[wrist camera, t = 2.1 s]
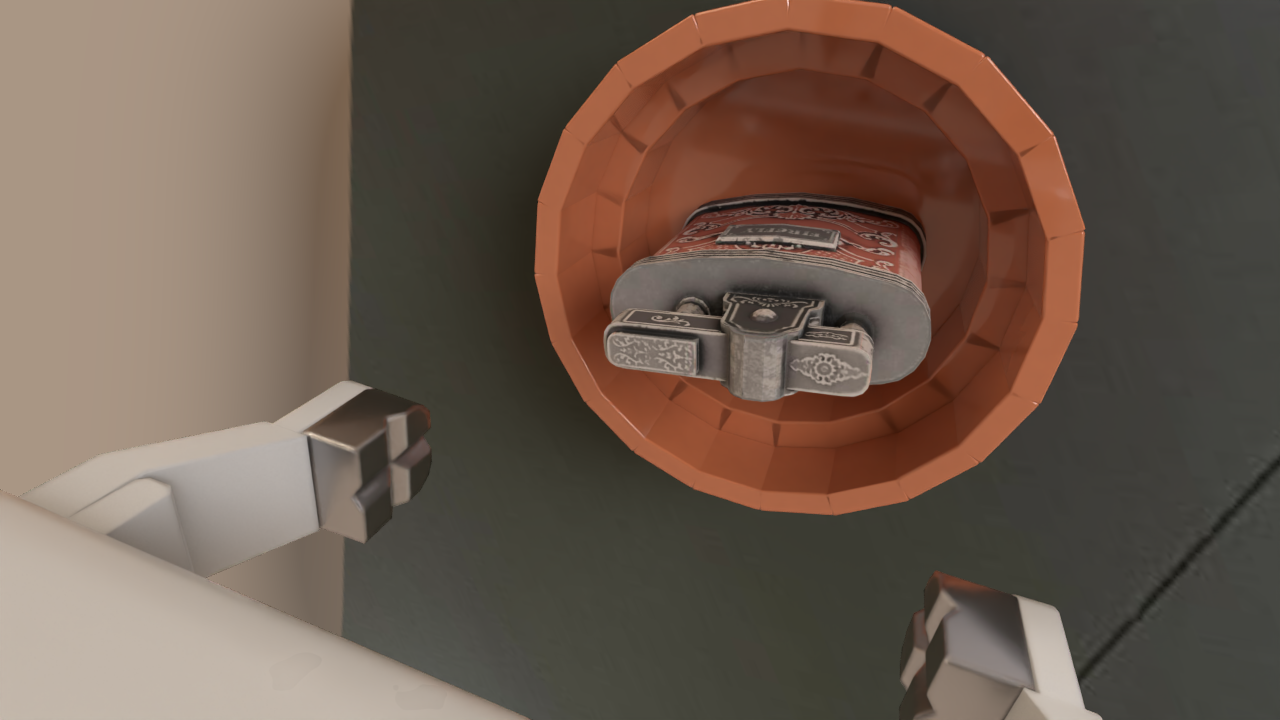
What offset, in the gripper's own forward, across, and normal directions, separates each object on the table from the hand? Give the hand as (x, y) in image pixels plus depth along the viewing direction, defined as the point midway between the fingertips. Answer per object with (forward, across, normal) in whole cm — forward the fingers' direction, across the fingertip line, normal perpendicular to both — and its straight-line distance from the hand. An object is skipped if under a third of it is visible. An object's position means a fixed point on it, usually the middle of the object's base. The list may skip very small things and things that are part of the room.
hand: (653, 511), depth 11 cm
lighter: (+15, 0, 0) cm, 15 cm away
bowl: (+16, 0, 0) cm, 16 cm away
